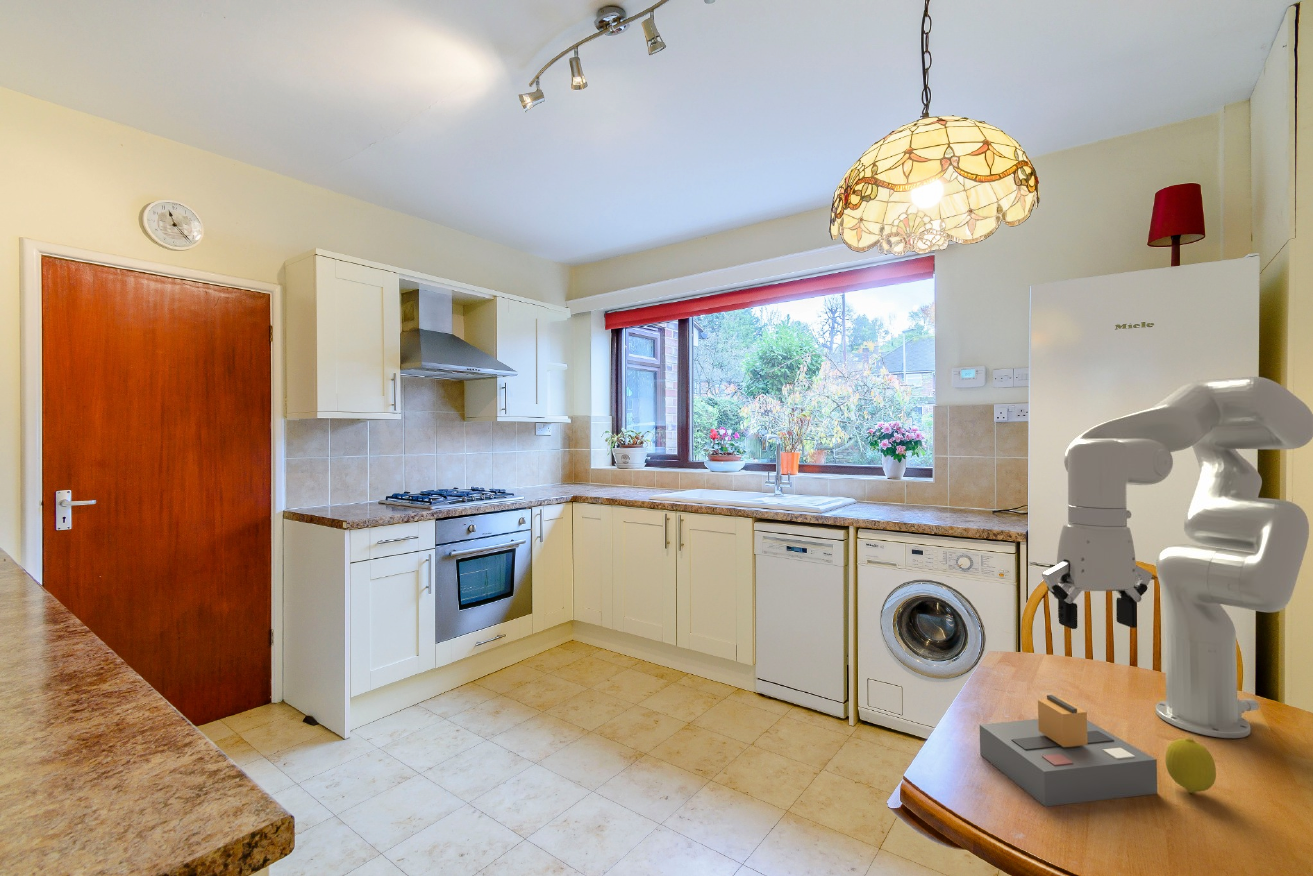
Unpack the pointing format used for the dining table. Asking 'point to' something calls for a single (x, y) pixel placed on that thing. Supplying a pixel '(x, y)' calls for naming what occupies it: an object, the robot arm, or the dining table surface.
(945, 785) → the dining table surface
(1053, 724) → the orange block
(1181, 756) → the lemon
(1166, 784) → the dining table surface
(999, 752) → the switch panel
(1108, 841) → the dining table surface
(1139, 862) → the dining table surface
